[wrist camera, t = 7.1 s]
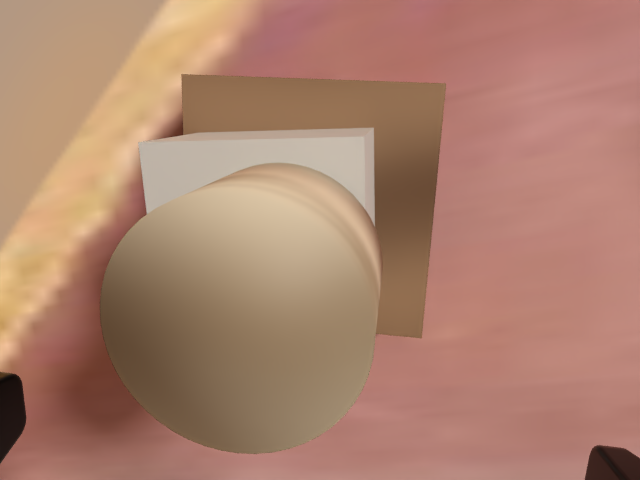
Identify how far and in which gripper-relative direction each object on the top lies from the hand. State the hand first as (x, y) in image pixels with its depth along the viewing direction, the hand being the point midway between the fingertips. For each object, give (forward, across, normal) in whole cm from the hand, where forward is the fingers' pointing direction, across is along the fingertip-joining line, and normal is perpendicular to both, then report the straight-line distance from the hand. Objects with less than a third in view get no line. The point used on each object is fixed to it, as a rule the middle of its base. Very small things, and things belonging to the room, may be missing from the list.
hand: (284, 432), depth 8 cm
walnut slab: (+13, +1, -2) cm, 13 cm away
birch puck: (+5, +1, -1) cm, 6 cm away
